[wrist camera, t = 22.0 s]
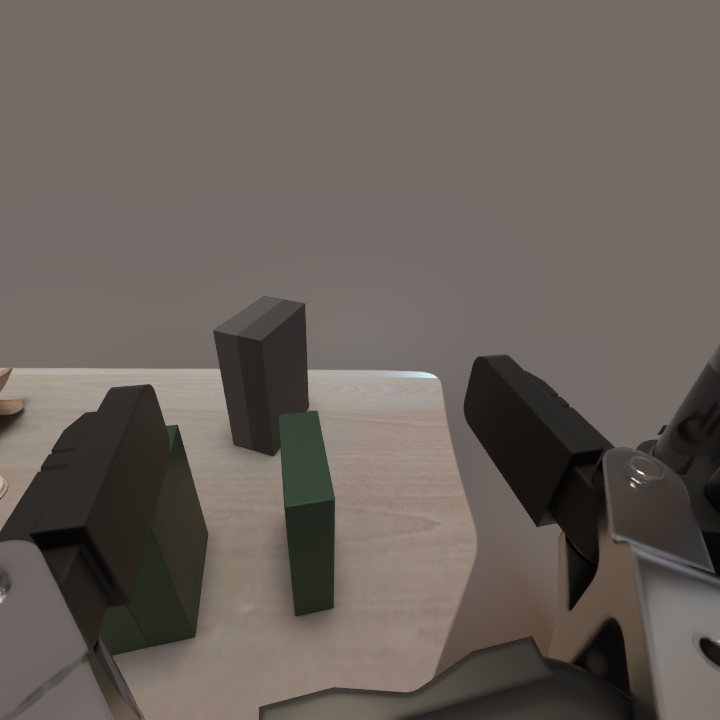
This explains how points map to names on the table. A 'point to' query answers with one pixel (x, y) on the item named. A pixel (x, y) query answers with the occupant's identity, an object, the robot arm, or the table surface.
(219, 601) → the table surface
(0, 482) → the chess piece
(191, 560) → the green rectangular block
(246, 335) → the grey faceted block
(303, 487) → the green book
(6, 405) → the decorative flower
